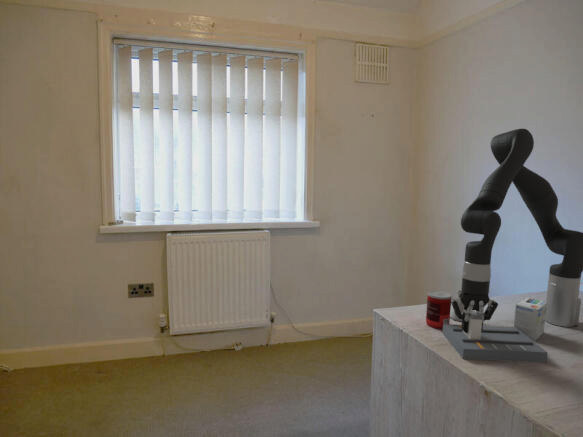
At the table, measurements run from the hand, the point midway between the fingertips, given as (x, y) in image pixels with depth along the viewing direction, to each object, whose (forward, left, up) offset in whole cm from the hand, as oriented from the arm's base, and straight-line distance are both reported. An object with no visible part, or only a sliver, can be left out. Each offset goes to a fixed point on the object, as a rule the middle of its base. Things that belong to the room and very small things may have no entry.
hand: (471, 332), depth 122 cm
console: (-6, 0, -4) cm, 7 cm away
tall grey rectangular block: (0, 0, -1) cm, 1 cm away
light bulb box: (-23, -11, -5) cm, 26 cm away
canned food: (+5, -16, -5) cm, 17 cm away
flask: (-5, -23, -5) cm, 24 cm away
